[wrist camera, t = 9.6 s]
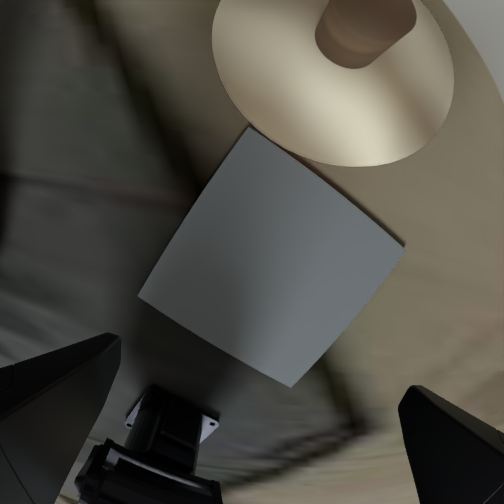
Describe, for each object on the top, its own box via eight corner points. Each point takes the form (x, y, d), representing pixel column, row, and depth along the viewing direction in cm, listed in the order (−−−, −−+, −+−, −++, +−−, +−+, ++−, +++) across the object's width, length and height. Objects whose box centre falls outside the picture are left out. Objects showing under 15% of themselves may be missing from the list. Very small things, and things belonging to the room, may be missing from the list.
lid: (372, 217, 14) (425, 240, 9) (163, 73, 12) (125, 32, 7) (470, 58, 12) (524, 37, 7) (301, -65, 10) (314, -118, 5)
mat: (290, 384, 22) (290, 387, 22) (139, 293, 20) (137, 296, 20) (403, 249, 20) (406, 250, 19) (248, 127, 18) (248, 126, 17)
